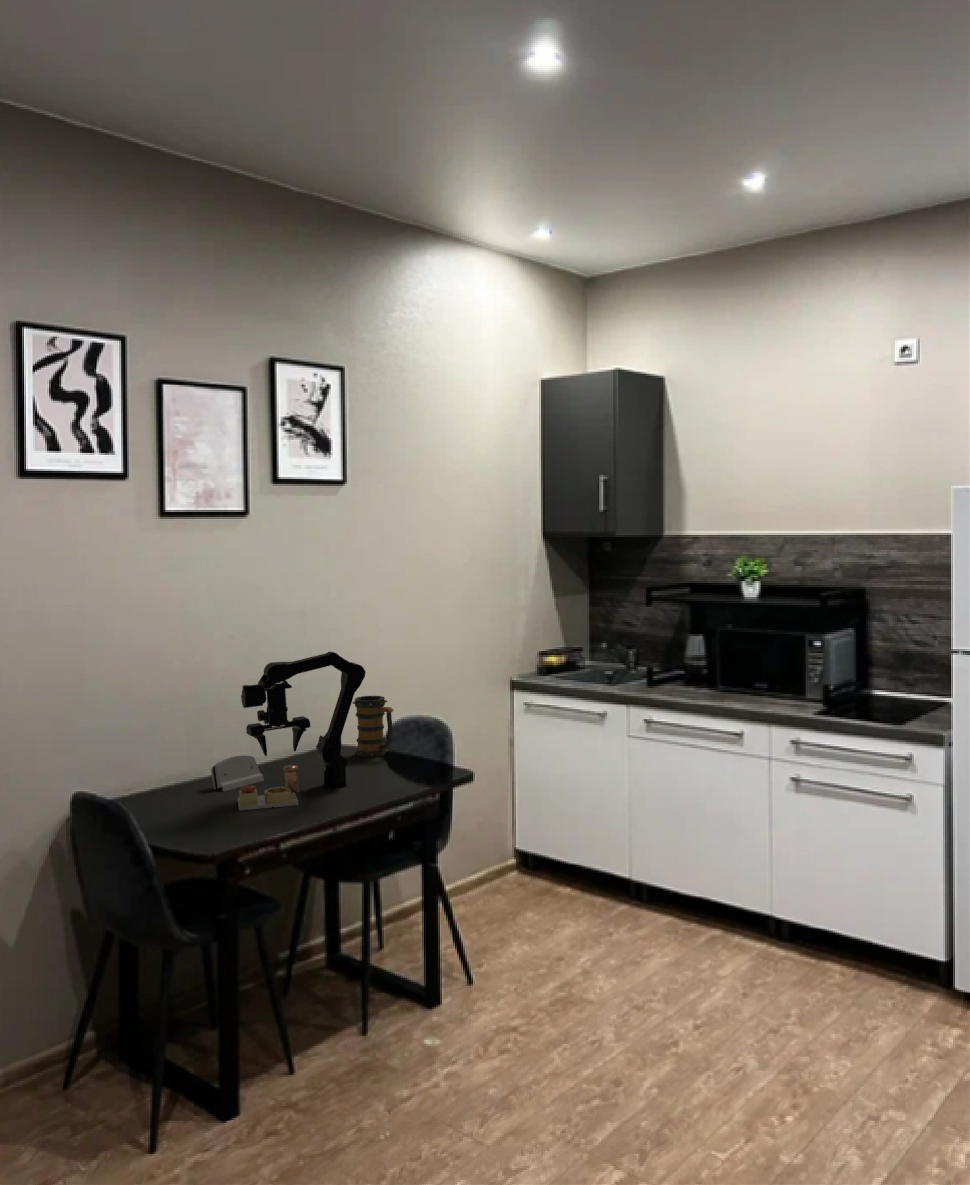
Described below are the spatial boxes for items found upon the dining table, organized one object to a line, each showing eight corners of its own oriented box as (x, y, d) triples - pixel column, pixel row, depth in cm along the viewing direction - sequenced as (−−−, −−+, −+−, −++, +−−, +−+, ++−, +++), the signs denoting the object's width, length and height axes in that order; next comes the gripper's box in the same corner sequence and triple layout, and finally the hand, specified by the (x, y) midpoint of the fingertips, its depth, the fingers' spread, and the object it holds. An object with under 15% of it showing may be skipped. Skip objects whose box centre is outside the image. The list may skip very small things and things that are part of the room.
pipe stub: (298, 789, 322) (297, 764, 321) (300, 793, 318) (299, 767, 317) (283, 790, 321) (282, 765, 320) (285, 794, 316) (284, 768, 316)
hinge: (222, 791, 321) (214, 760, 323) (214, 794, 324) (206, 763, 326) (265, 780, 334) (257, 750, 336) (256, 782, 337) (248, 753, 339)
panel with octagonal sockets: (294, 795, 315) (294, 778, 315) (298, 805, 304) (297, 787, 304) (237, 800, 310) (237, 783, 310) (239, 810, 300) (238, 792, 300)
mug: (370, 747, 378) (368, 693, 376) (406, 753, 367) (404, 698, 366) (345, 755, 367) (343, 699, 366) (381, 761, 357) (380, 703, 356)
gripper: (297, 695, 329) (300, 744, 330) (239, 704, 320) (243, 753, 321) (309, 701, 319) (312, 750, 320) (249, 709, 310) (253, 760, 311)
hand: (280, 753), depth 318 cm, fingers open, 9 cm apart
